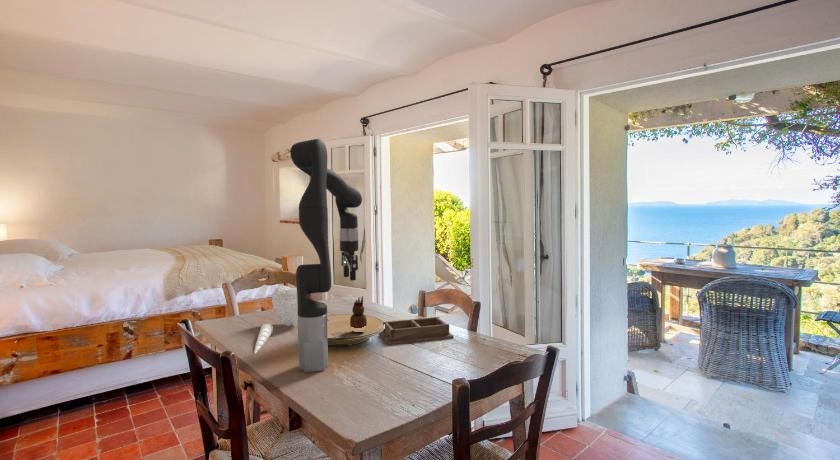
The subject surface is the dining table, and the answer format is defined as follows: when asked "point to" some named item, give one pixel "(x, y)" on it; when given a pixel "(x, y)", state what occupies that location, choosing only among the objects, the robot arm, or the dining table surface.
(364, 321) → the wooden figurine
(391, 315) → the dining table surface
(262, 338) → the unicorn horn
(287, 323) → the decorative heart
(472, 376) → the dining table surface
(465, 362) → the dining table surface
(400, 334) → the brown divided wooden tray
